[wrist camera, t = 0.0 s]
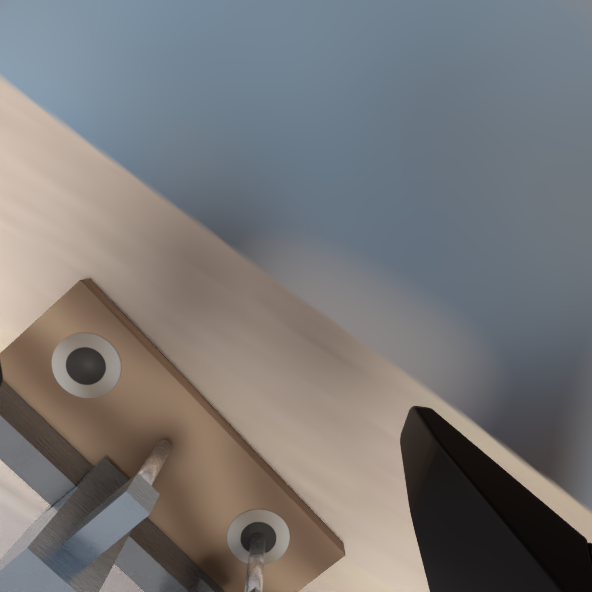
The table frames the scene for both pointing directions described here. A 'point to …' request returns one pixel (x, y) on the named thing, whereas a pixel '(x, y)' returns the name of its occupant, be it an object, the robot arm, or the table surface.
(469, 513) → the robot arm
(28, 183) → the table surface
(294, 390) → the table surface
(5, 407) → the beam
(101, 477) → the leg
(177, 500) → the hole plate
